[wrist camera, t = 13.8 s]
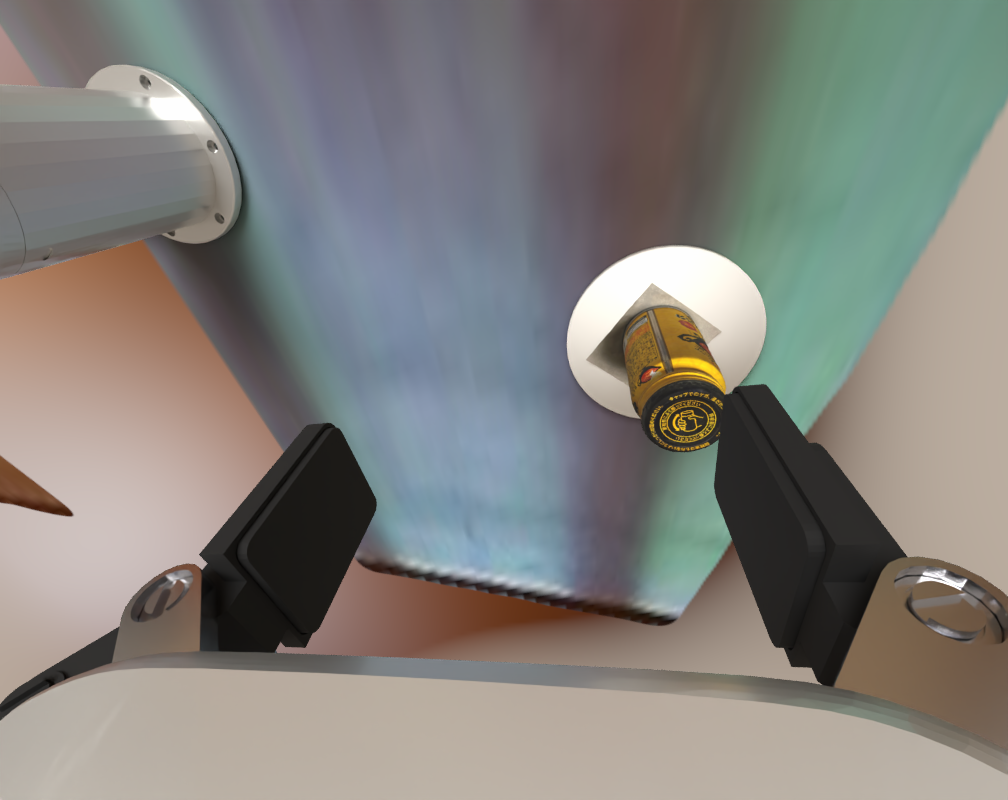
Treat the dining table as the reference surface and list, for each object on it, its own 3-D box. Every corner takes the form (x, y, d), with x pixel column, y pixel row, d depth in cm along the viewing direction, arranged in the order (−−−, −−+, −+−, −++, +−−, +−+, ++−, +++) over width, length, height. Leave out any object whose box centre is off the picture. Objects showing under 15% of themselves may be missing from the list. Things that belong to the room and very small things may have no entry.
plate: (579, 420, 43) (578, 425, 42) (554, 264, 35) (553, 268, 34) (753, 405, 39) (756, 411, 38) (772, 225, 31) (777, 228, 30)
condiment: (721, 330, 34) (774, 416, 25) (649, 398, 39) (670, 493, 29) (651, 281, 33) (679, 351, 23) (585, 358, 38) (585, 443, 28)
